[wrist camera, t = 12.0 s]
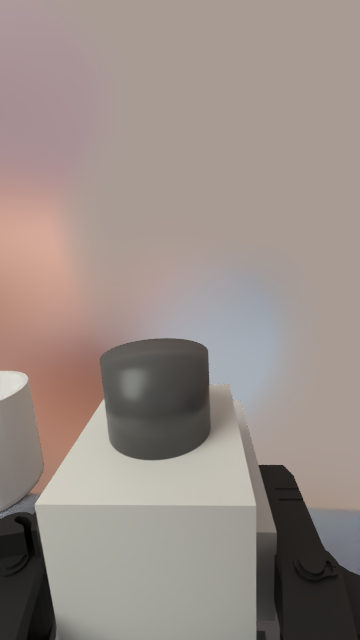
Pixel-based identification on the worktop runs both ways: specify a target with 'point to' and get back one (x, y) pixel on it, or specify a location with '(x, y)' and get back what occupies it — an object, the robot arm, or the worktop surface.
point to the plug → (153, 507)
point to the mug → (17, 439)
